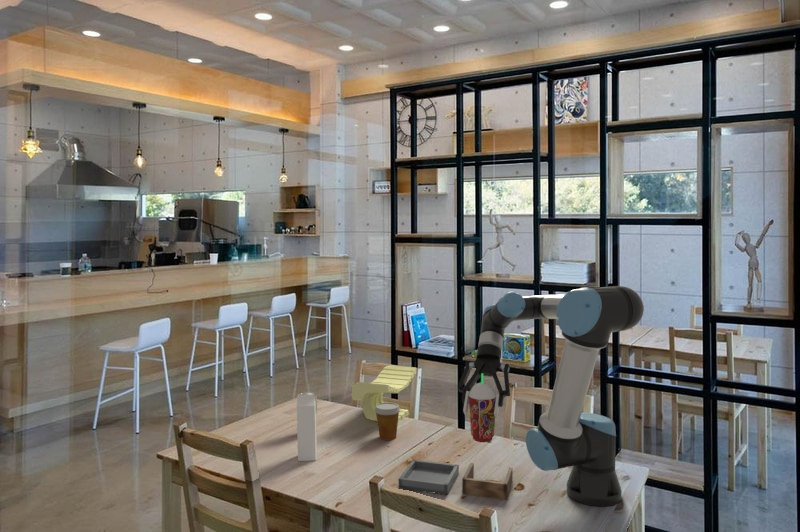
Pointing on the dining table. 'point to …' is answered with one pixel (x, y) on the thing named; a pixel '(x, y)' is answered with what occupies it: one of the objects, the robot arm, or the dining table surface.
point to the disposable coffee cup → (387, 420)
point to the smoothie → (482, 411)
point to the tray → (429, 477)
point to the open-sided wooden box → (486, 485)
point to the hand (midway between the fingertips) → (480, 414)
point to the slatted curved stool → (383, 389)
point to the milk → (306, 427)
